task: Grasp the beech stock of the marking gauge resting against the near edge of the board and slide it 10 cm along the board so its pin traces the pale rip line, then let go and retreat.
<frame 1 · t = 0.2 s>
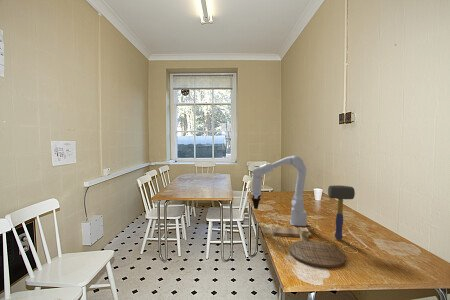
hand: (256, 207, 160), 10 cm above the table, fingers open, 7 cm apart
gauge: (302, 232, 138), point 3 cm above the table, slide at 0.0 cm
board: (290, 233, 143), on the table
rubber mallet: (338, 239, 137), on the table
trivet: (316, 255, 118), on the table
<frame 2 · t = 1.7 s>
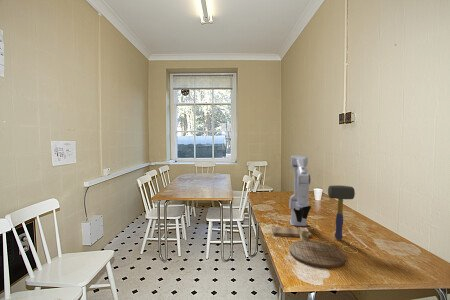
hand: (302, 220, 136), 10 cm above the table, fingers open, 7 cm apart
nothing on the table moved.
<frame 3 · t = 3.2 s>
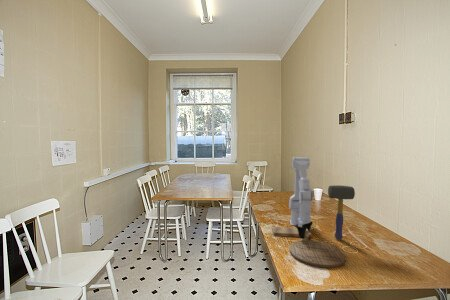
hand: (303, 236, 135), 2 cm above the table, fingers closed on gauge, 7 cm apart
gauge: (302, 232, 138), point 3 cm above the table, slide at 0.0 cm, touching gripper
everything else where it was.
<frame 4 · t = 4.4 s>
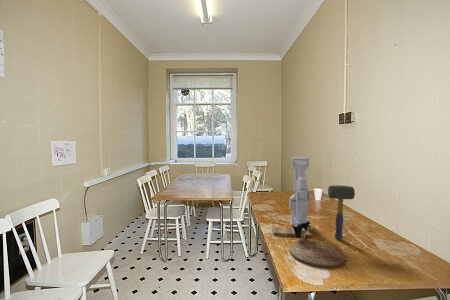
hand: (300, 236, 135), 2 cm above the table, fingers open, 6 cm apart
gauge: (299, 231, 139), point 3 cm above the table, slide at 1.6 cm, touching gripper
everything else where it was.
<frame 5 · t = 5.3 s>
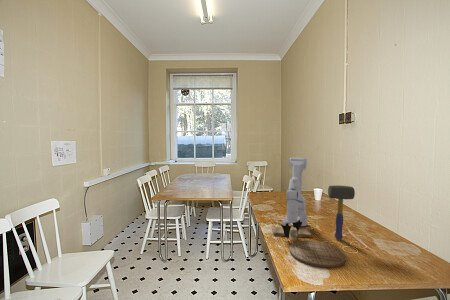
hand: (291, 235, 136), 2 cm above the table, fingers open, 7 cm apart
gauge: (291, 231, 139), point 3 cm above the table, slide at 6.0 cm, touching gripper
everything else where it was.
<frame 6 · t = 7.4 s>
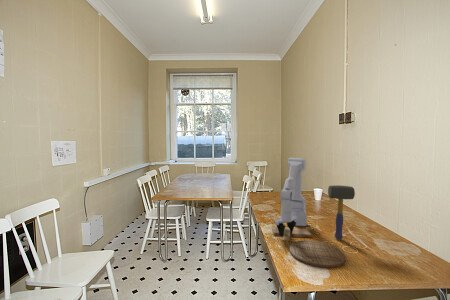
hand: (285, 235, 136), 2 cm above the table, fingers closed on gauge, 6 cm apart
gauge: (284, 231, 139), point 3 cm above the table, slide at 9.8 cm, touching gripper
everything else where it was.
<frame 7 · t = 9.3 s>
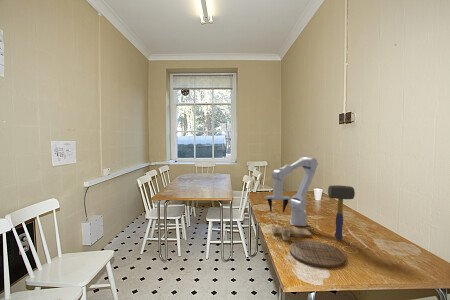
hand: (277, 211, 152), 10 cm above the table, fingers open, 7 cm apart
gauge: (284, 231, 139), point 3 cm above the table, slide at 9.9 cm
everything else where it was.
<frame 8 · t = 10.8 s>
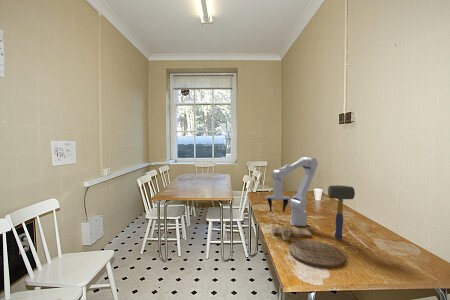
hand: (277, 211, 152), 10 cm above the table, fingers open, 7 cm apart
nothing on the table moved.
at the end: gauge slide at 9.9 cm; the gripper is holding nothing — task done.
